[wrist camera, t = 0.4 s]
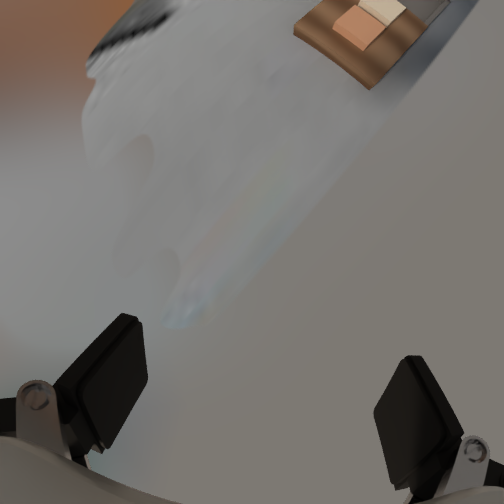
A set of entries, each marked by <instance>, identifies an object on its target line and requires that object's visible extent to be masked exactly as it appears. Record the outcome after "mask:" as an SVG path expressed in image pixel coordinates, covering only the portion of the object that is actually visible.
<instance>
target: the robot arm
mask: <svg viewBox="0 0 504 504" xmlns="http://www.w3.org/2000/svg"><path fill="white" fill-rule="evenodd" d="M147 380H148V373H147V365H146V357H145V348H144V338H143V327H142V323H141V322H139V321H138V318H137V317H136V316H132V315H128V314H125V313H121V314H120V315H119V316H118V317H117V318H116V319H115V320H114V321H113V322H112V323H111V324H110V325H109V326H108V327H107V328H106V329H105V330H104V331H103V332H102V333H101V334H100V335H99V336H98V337H97V338H96V339H95V340H94V341H93V342H92V343H91V344H90V345H89V346H88V348H87V349H86V350H85V351H84V352H83V353H82V354H81V355H80V356H79V357H78V358H77V359H76V360H75V361H74V363H72V364H71V366H70V367H69V368H68V369H67V370H66V371H65V372H64V373H63V374H62V375H61V377H60V378H59V379H58V380H57V381H56V383H55V384H54V385H53V386H52V385H50V384H49V383H48V382H45V381H42V380H32V381H29V382H27V383H25V384H23V385H22V386H21V387H20V388H19V390H18V392H17V396H16V397H14V398H4V399H0V504H181V503H177V502H173V501H170V500H166V499H163V498H160V497H157V496H154V495H151V494H148V493H145V492H142V491H139V490H137V489H134V488H131V487H128V486H126V485H124V484H121V483H119V482H116V481H114V480H111V479H109V478H107V477H105V476H102V475H100V474H98V473H96V472H94V471H92V470H91V467H90V464H89V460H88V457H87V454H88V452H89V451H90V449H92V450H94V451H96V452H99V453H101V454H102V453H103V451H104V450H105V448H106V449H109V448H110V447H111V445H112V444H113V442H114V440H115V438H116V436H117V435H118V433H119V431H120V429H121V428H122V426H123V424H124V422H125V421H126V419H127V417H128V415H129V414H130V411H131V410H132V408H133V406H134V405H135V403H136V401H137V400H138V398H139V396H140V394H141V393H142V391H143V389H144V387H145V386H146V384H147ZM374 419H375V423H376V426H377V430H378V434H379V437H380V441H381V445H382V449H383V453H384V457H385V461H386V465H387V469H388V473H389V478H390V482H391V483H392V484H394V487H395V490H400V489H405V488H408V487H410V493H409V495H408V497H407V498H406V500H405V502H404V504H504V465H502V464H500V463H497V462H495V461H493V460H491V459H489V457H490V450H489V447H488V445H487V443H486V442H485V441H484V440H483V439H482V438H480V437H478V436H468V437H465V438H464V439H463V440H462V439H461V436H462V435H463V434H464V431H463V429H462V427H461V425H460V423H459V421H458V419H457V417H456V415H455V414H454V411H453V409H452V408H451V406H450V404H449V402H448V401H447V398H446V397H445V395H444V393H443V391H442V390H441V388H440V386H439V384H438V383H437V381H436V379H435V377H434V376H433V374H432V372H431V371H430V369H429V367H428V366H427V364H426V362H425V361H424V359H423V358H422V356H412V355H411V356H410V355H408V356H406V357H405V358H404V359H402V360H401V361H400V363H399V365H398V367H397V369H396V371H395V373H394V375H393V376H392V378H391V380H390V382H389V384H388V386H387V388H386V389H385V391H384V393H383V395H382V396H381V398H380V400H379V401H378V403H377V405H376V407H375V408H374Z"/></svg>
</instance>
